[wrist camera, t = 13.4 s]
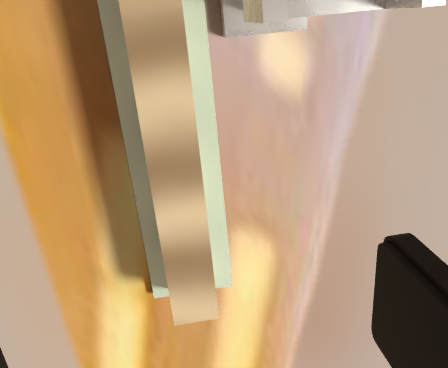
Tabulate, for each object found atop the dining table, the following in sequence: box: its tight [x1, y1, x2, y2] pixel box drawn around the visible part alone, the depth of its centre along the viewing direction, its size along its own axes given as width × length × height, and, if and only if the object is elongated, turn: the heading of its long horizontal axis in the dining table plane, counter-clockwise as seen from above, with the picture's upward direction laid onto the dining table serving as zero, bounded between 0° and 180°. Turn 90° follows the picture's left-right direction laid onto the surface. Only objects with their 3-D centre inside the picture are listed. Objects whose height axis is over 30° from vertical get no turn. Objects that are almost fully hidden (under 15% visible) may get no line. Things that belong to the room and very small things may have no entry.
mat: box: [97, 0, 232, 298], centre depth 27 cm, size 23×6×1 cm, turn 5°
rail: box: [118, 0, 219, 326], centre depth 25 cm, size 22×3×4 cm, turn 5°
